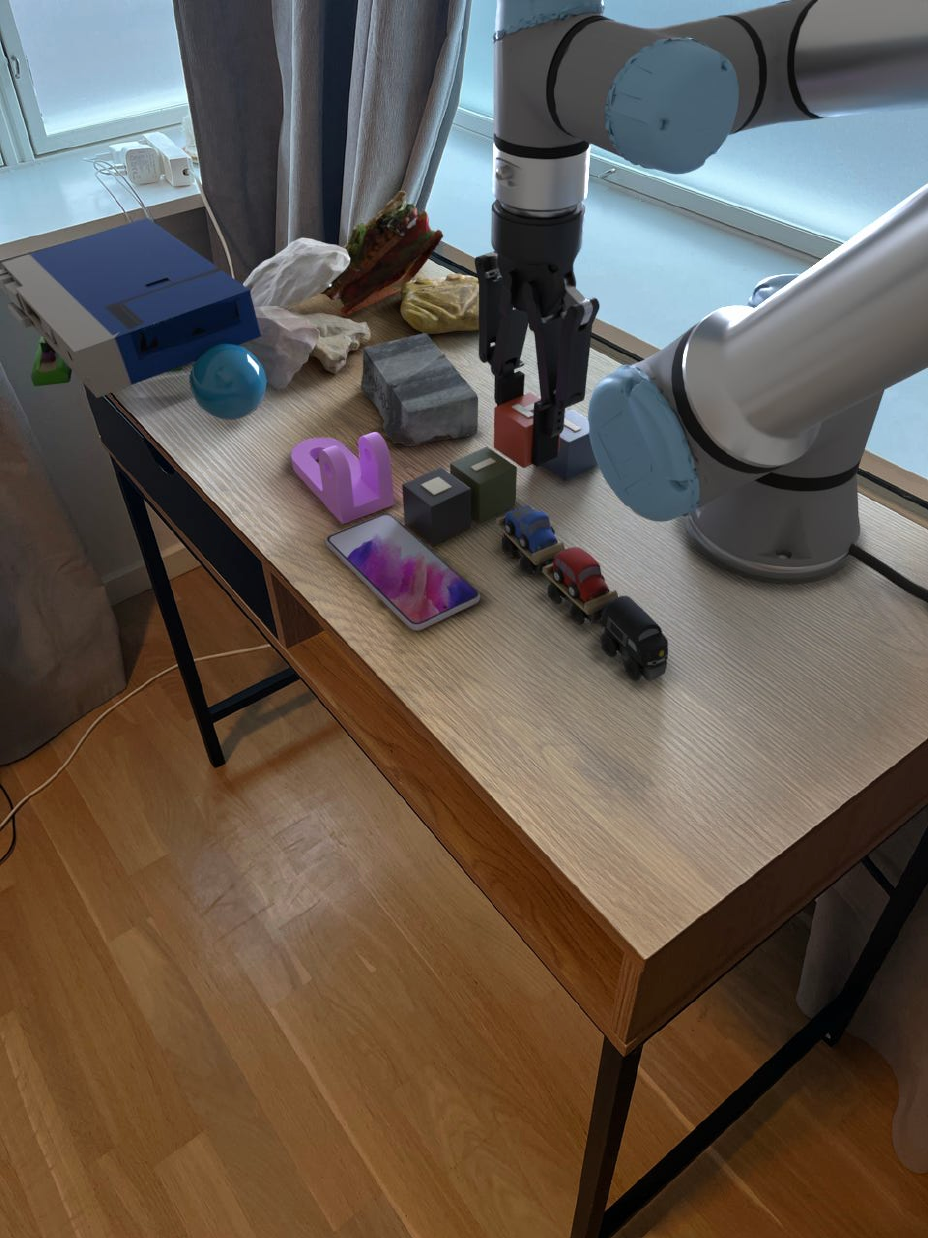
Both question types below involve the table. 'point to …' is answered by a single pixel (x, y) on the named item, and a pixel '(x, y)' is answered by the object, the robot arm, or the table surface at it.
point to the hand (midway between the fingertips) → (526, 447)
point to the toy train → (585, 592)
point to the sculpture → (441, 304)
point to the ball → (228, 381)
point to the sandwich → (384, 255)
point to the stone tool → (281, 343)
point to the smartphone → (402, 571)
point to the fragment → (296, 273)
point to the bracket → (346, 475)
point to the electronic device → (127, 304)
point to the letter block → (515, 429)
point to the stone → (335, 338)
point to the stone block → (418, 391)
